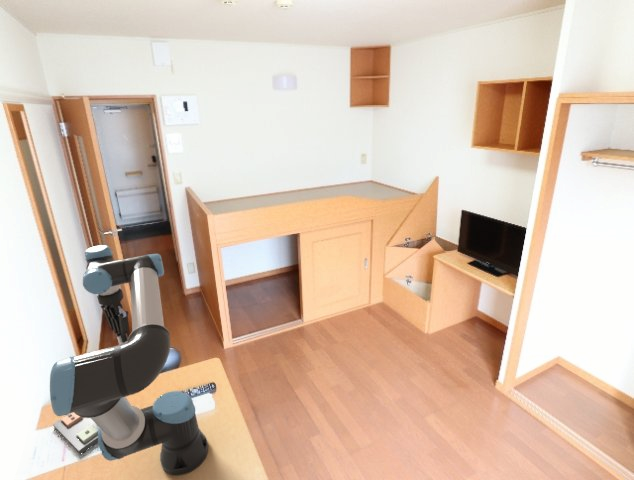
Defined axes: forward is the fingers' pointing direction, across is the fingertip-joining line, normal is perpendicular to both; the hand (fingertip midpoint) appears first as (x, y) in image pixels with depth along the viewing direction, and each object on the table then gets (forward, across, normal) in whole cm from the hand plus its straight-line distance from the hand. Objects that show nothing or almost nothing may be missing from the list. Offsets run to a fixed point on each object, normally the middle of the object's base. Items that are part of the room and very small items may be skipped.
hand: (125, 348), depth 134 cm
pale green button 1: (+30, +4, +18) cm, 35 cm away
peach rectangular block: (+29, +16, +18) cm, 38 cm away
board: (+29, +10, +18) cm, 35 cm away
